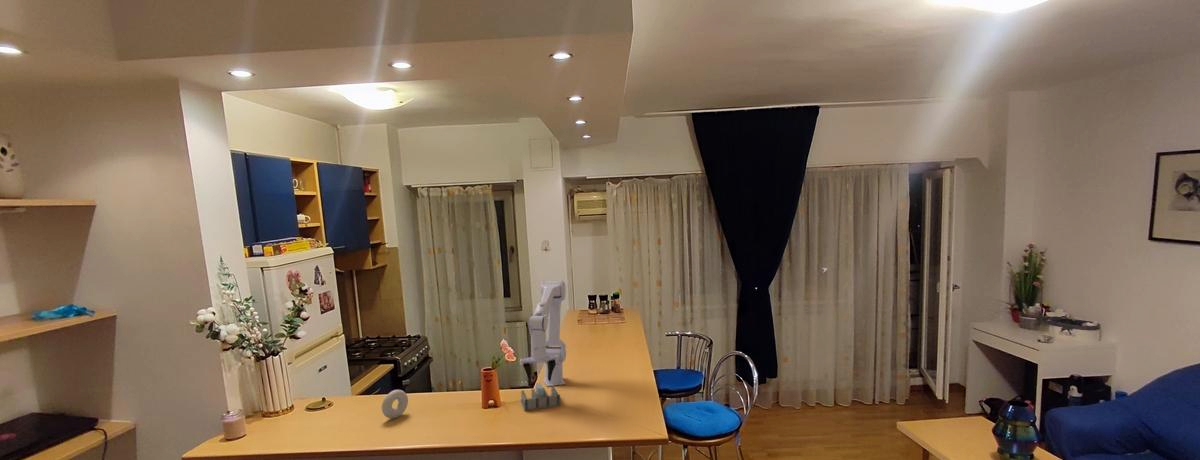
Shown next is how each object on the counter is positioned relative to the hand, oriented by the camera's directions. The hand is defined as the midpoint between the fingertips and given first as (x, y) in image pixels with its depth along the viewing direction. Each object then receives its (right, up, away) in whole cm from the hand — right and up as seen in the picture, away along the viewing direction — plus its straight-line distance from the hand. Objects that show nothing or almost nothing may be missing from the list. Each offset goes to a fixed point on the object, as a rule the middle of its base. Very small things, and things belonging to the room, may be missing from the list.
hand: (539, 381), depth 180 cm
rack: (0, -9, 0) cm, 9 cm away
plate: (0, -8, 0) cm, 8 cm away
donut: (-51, -10, -11) cm, 53 cm away
